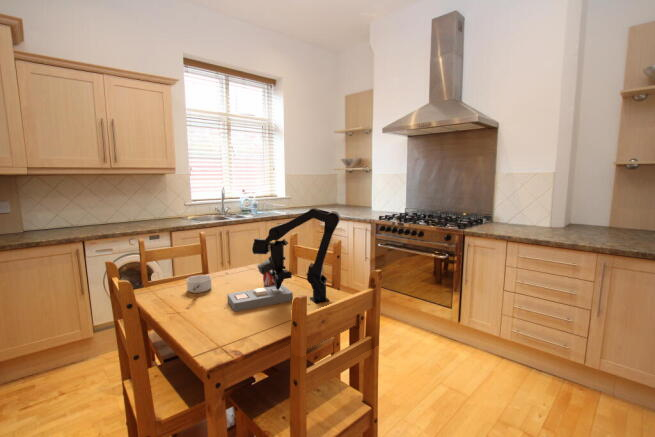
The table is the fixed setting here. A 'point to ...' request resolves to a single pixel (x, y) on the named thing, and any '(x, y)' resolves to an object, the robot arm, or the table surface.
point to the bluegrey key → (277, 290)
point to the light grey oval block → (198, 283)
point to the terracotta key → (241, 296)
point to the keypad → (259, 298)
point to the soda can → (268, 278)
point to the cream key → (260, 291)
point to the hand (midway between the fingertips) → (277, 289)
